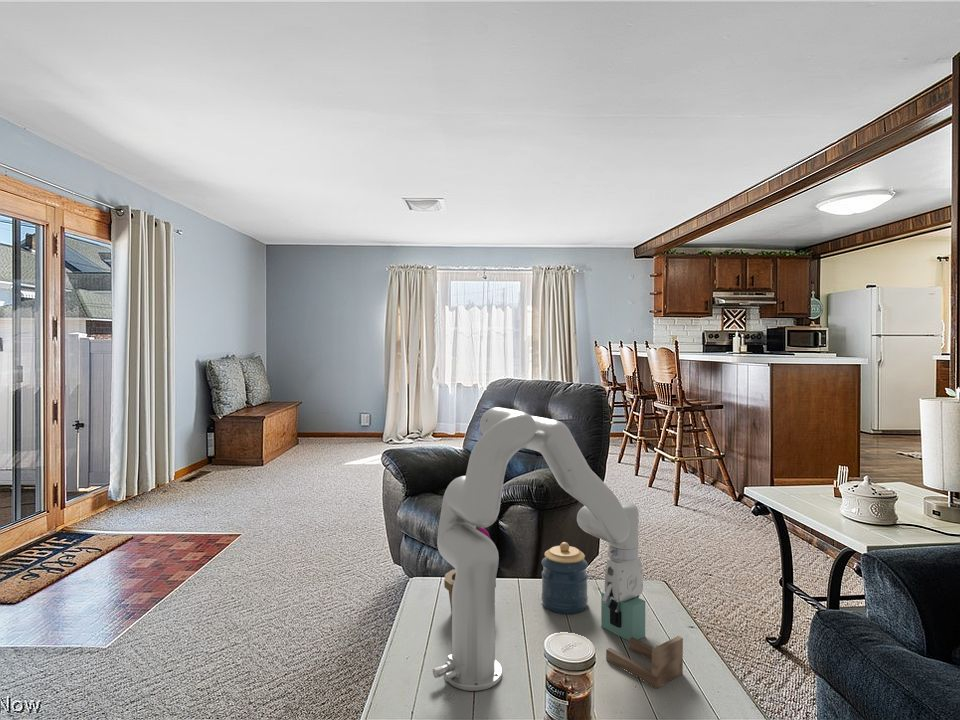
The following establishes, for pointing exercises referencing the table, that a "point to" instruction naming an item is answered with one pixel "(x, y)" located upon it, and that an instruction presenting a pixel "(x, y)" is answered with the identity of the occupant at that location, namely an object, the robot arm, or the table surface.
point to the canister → (564, 579)
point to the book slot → (663, 660)
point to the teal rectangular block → (626, 618)
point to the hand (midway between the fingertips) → (622, 621)
